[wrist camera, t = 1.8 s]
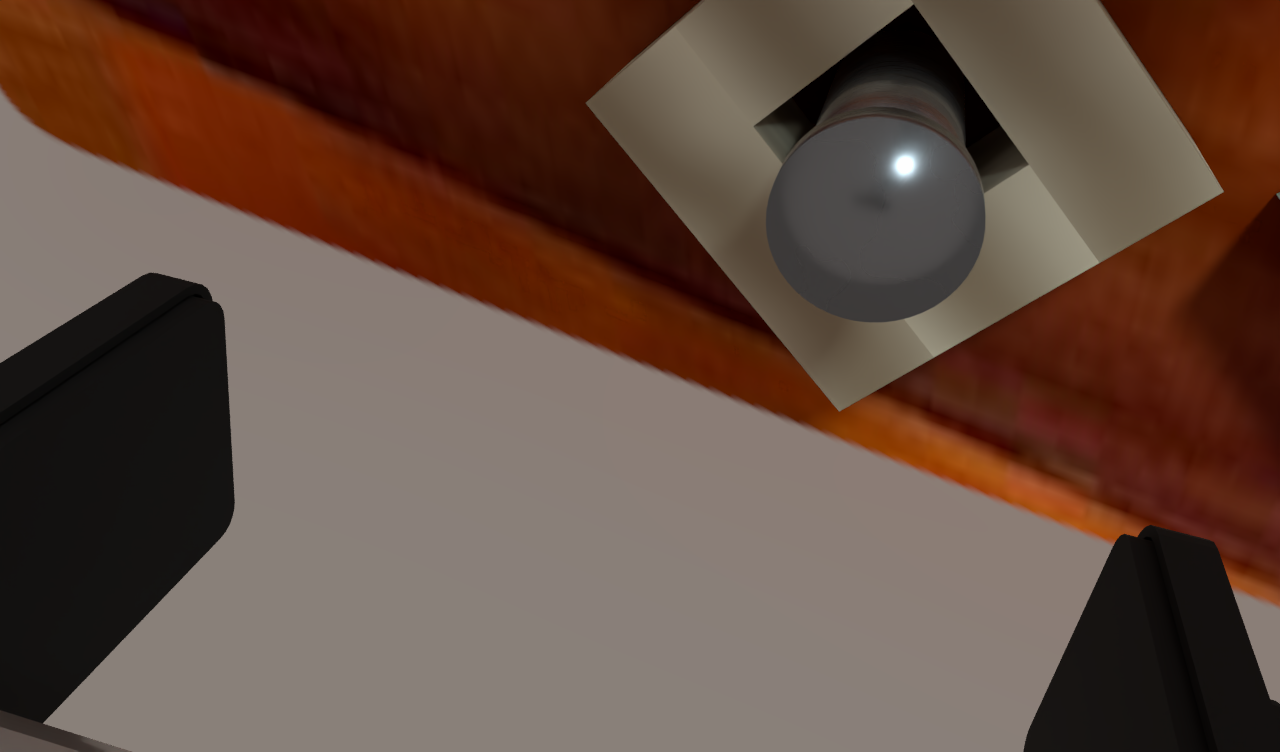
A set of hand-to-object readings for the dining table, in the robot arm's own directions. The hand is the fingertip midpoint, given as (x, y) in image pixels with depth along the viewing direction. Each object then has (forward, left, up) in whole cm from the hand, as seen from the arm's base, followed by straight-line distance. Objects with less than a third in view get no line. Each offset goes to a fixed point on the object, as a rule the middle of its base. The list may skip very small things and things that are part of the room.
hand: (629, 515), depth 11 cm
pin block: (0, +3, -26) cm, 26 cm away
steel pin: (0, +3, -26) cm, 26 cm away
